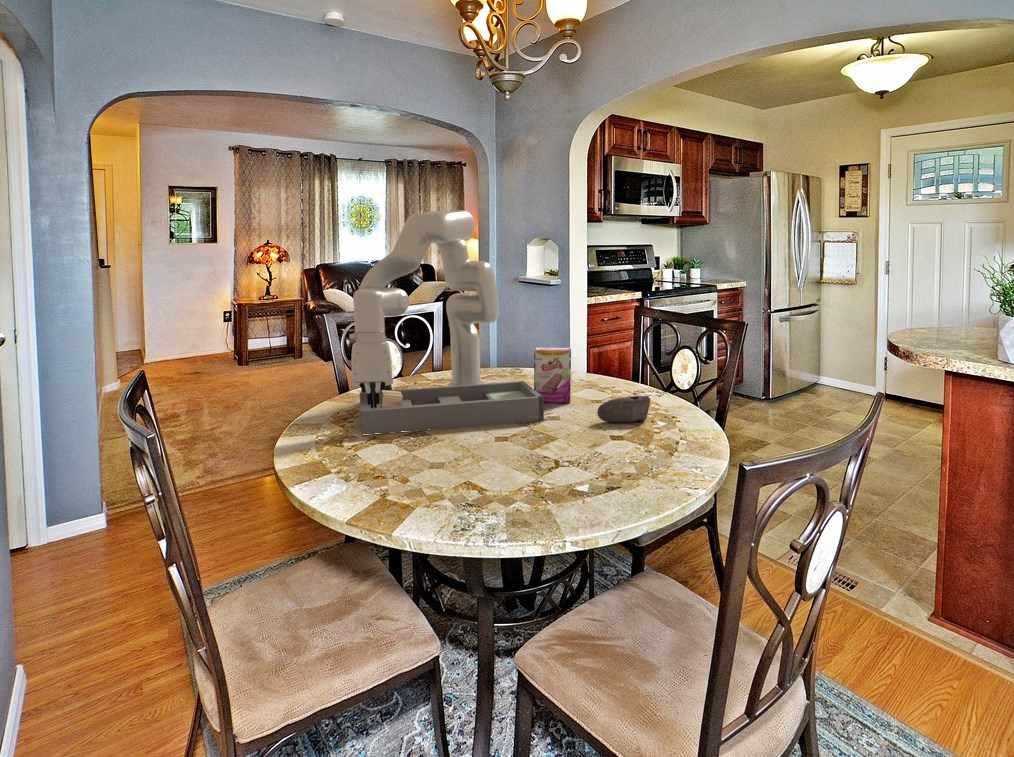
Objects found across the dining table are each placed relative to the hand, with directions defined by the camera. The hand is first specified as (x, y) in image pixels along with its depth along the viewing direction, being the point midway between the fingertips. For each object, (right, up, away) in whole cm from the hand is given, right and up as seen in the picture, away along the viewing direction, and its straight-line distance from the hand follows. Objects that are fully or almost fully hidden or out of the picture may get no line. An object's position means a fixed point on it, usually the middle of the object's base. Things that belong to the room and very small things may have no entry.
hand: (373, 406), depth 164 cm
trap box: (+19, -3, +11) cm, 22 cm away
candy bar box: (+49, 0, +26) cm, 55 cm away
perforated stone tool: (+67, -4, +4) cm, 67 cm away
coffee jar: (-4, -1, +23) cm, 23 cm away
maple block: (+4, -1, +1) cm, 4 cm away
